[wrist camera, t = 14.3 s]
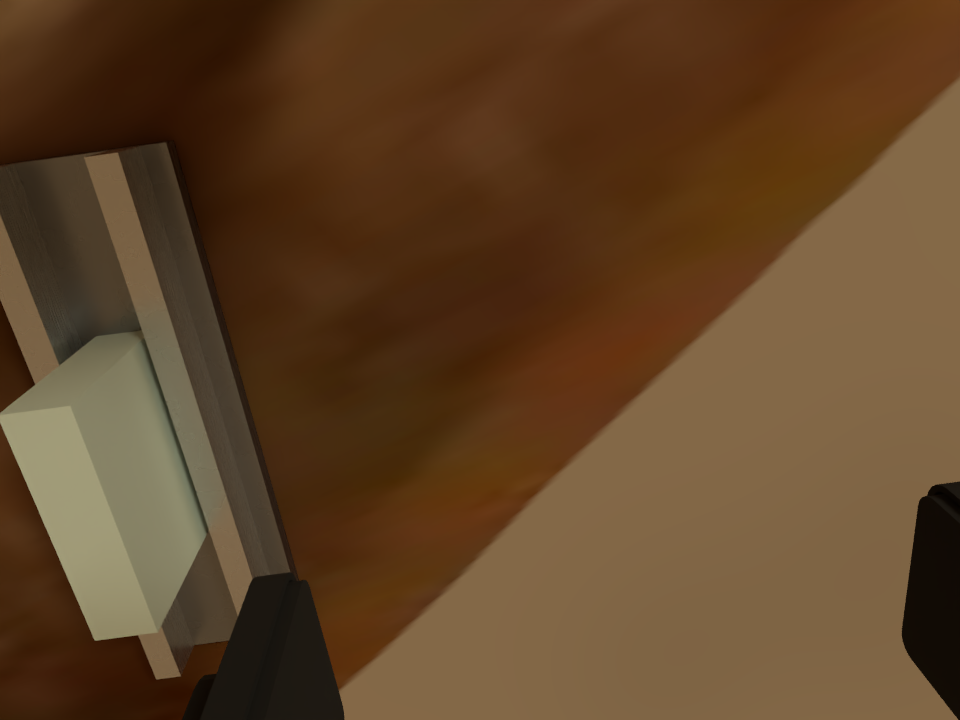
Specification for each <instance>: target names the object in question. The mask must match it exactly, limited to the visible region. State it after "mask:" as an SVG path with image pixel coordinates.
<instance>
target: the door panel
mask: <svg viewBox="0 0 960 720" xmlns="http://www.w3.org/2000/svg"><path fill="white" fill-rule="evenodd" d="M0 423H1V426H2V428H3V430H4V432H5V435H6V437H7V439H8V442H9V444H10V446H11V449H12V451H13V453H14V456H15V458H16V460H17V462H18V465H19V467H20V469H21V472H22V474H23V476H24V479H25V481H26V483H27V486H28V488H29V490H30V492H31V495H32V497H33V499H34V502H35V504H36V506H37V509H38V511H39V513H40V515H41V518H42V520H43V522H44V525H45V527H46V529H47V532H48V534H49V536H50V539H51V541H52V543H53V545H54V548H55V550H56V552H57V555H58V557H59V559H60V562H61V564H62V566H63V569H64V571H65V573H66V575H67V578H68V580H69V582H70V585H71V587H72V589H73V592H74V594H75V596H76V599H77V601H78V603H79V605H80V608H81V610H82V612H83V615H84V617H85V619H86V622H87V624H88V626H89V628H90V631H91V633H92V635H93V638H94V640H95V641H97V640H104V639H112V638H120V637H128V636H135V635H143V634H151V633H158V631H159V629H160V627H161V625H162V623H163V621H164V619H165V617H166V615H167V613H168V611H169V609H170V607H171V605H172V603H173V601H174V599H175V597H176V595H177V593H178V591H179V589H180V587H181V585H182V583H183V581H184V579H185V577H186V575H187V573H188V571H189V569H190V567H191V565H192V563H193V561H194V559H195V557H196V555H197V553H198V551H199V549H200V547H201V545H202V543H203V541H204V539H205V537H206V535H207V533H208V531H209V529H208V526H207V523H206V520H205V517H204V514H203V511H202V508H201V505H200V502H199V499H198V496H197V493H196V490H195V487H194V484H193V481H192V478H191V475H190V472H189V469H188V466H187V463H186V460H185V457H184V454H183V451H182V448H181V445H180V442H179V439H178V436H177V433H176V430H175V427H174V424H173V421H172V418H171V415H170V412H169V409H168V406H167V403H166V400H165V397H164V394H163V391H162V388H161V385H160V382H159V379H158V376H157V373H156V370H155V367H154V365H153V362H152V359H151V356H150V353H149V350H148V347H147V344H146V341H145V338H144V335H143V332H142V330H140V331H133V332H125V333H118V334H110V335H102V336H96V337H95V338H93V339H92V340H91V341H90V342H88V343H87V344H86V345H85V346H83V347H82V348H81V349H80V350H78V351H77V352H76V353H75V354H73V355H72V356H71V357H70V358H68V359H67V360H66V361H65V362H63V363H62V364H61V365H60V366H58V367H57V368H56V369H55V370H53V371H52V372H51V373H50V374H48V375H47V376H46V377H45V378H43V379H42V380H41V381H40V382H38V383H37V384H36V385H35V386H33V387H32V388H31V389H30V390H28V391H27V392H26V393H25V394H23V395H22V396H21V397H20V398H18V399H17V400H16V401H15V402H13V403H12V404H11V405H10V406H8V407H7V408H6V409H5V410H3V411H2V412H1V413H0Z"/></svg>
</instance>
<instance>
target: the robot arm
mask: <svg viewBox="0 0 960 720" xmlns="http://www.w3.org/2000/svg"><path fill="white" fill-rule="evenodd" d="M902 639H903V643H904V646H905V649H906V651H907V653H908V655H909V656H910V658H911V659H912V661H913V662H914V663H915V664H916V666H917V667H918V668H919V670H920V671H921V672H922V673H923V675H924V676H925V677H926V678H927V680H928V681H929V682H930V684H931V685H932V686H933V688H934V689H935V690H936V691H937V693H938V694H939V695H940V697H941V698H942V699H943V700H944V701H945V703H946V704H947V706H948V707H949V708H950V709H951V710H952V712H953V713H954V715H955V716H956V717H957V718H958V720H960V482H954V483H946V484H939V485H935V486H932V487H931V489H930V490H929V492H928V495H927V496H925V497H922V498H921V499H920V501H919V505H918V511H917V519H916V527H915V534H914V542H913V549H912V557H911V565H910V573H909V580H908V588H907V595H906V603H905V610H904V619H903V626H902ZM182 720H344V711H343V706H342V702H341V698H340V694H339V691H338V687H337V684H336V680H335V676H334V673H333V669H332V666H331V662H330V659H329V655H328V651H327V648H326V644H325V641H324V637H323V633H322V630H321V626H320V623H319V619H318V616H317V612H316V608H315V605H314V601H313V598H312V594H311V590H310V587H309V584H308V582H307V581H306V580H301V581H297V580H296V577H295V576H294V574H293V573H291V572H287V573H280V574H273V575H265V576H258V577H255V578H253V579H252V581H251V583H250V585H249V588H248V591H247V593H246V596H245V599H244V601H243V604H242V607H241V609H240V612H239V615H238V618H237V620H236V623H235V626H234V628H233V631H232V634H231V637H230V639H229V642H228V645H227V647H226V650H225V653H224V655H223V658H222V661H221V664H220V666H219V669H218V672H217V674H212V675H204V676H203V677H202V678H201V679H200V680H199V681H198V683H197V685H196V687H195V689H194V691H193V694H192V696H191V699H190V701H189V704H188V706H187V709H186V711H185V714H184V716H183V719H182Z"/></svg>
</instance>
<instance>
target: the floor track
mask: <svg viewBox="0 0 960 720" xmlns="http://www.w3.org/2000/svg"><path fill="white" fill-rule="evenodd" d="M0 300H1V302H2V305H3V307H4V310H5V312H6V315H7V317H8V319H9V322H10V324H11V327H12V329H13V332H14V334H15V336H16V339H17V341H18V344H19V346H20V349H21V351H22V354H23V356H24V358H25V361H26V363H27V366H28V368H29V371H30V373H31V375H32V378H33V380H34V383H35V385H36V384H37V383H38V382H40V381H41V380H42V379H43V378H45V377H46V376H47V375H48V374H50V373H51V372H52V371H53V370H55V369H56V368H57V367H58V366H60V365H61V364H62V363H63V362H65V361H66V360H67V359H68V358H70V357H71V356H72V355H73V354H75V353H76V352H77V351H78V350H80V349H81V348H82V347H83V346H85V345H86V344H87V343H88V342H90V341H91V340H92V339H93V338H95V337H96V336H102V335H110V334H118V333H125V332H133V331H140V330H142V332H143V335H144V338H145V341H146V344H147V347H148V350H149V353H150V356H151V359H152V362H153V365H154V367H155V370H156V373H157V376H158V379H159V382H160V385H161V388H162V391H163V394H164V397H165V400H166V403H167V406H168V409H169V412H170V415H171V418H172V421H173V424H174V427H175V430H176V433H177V436H178V439H179V442H180V445H181V448H182V451H183V454H184V457H185V460H186V463H187V466H188V469H189V472H190V475H191V478H192V481H193V484H194V487H195V490H196V493H197V496H198V499H199V502H200V505H201V508H202V511H203V514H204V517H205V520H206V523H207V526H208V529H209V531H208V533H207V535H206V537H205V539H204V541H203V543H202V545H201V547H200V549H199V551H198V553H197V555H196V557H195V559H194V561H193V563H192V565H191V567H190V569H189V571H188V573H187V575H186V577H185V579H184V581H183V583H182V585H181V587H180V589H179V591H178V593H177V595H176V597H175V599H174V601H173V603H172V605H171V607H170V609H169V611H168V613H167V615H166V617H165V619H164V621H163V623H162V625H161V627H160V629H159V631H158V633H151V634H143V635H138V636H139V639H140V641H141V643H142V646H143V648H144V651H145V653H146V656H147V658H148V660H149V663H150V665H151V668H152V670H153V673H154V675H155V678H156V680H157V679H164V678H172V677H179V676H181V675H182V672H183V670H184V668H185V665H186V663H187V661H188V658H189V656H190V654H191V651H192V649H193V647H194V645H198V644H206V643H213V642H221V641H228V640H229V639H230V637H231V634H232V631H233V628H234V626H235V623H236V620H237V618H238V615H239V612H240V609H241V607H242V604H243V601H244V599H245V596H246V593H247V591H248V588H249V585H250V583H251V581H252V579H253V578H255V577H258V576H265V575H273V574H280V573H287V572H291V573H293V574H294V576H295V577H296V580H297V581H299V579H298V575H297V572H296V568H295V565H294V561H293V558H292V554H291V551H290V547H289V544H288V540H287V537H286V533H285V530H284V526H283V523H282V519H281V516H280V512H279V509H278V505H277V502H276V498H275V495H274V491H273V488H272V484H271V481H270V477H269V474H268V470H267V467H266V463H265V460H264V456H263V453H262V449H261V446H260V442H259V439H258V435H257V432H256V428H255V425H254V421H253V418H252V414H251V411H250V407H249V404H248V400H247V397H246V393H245V390H244V386H243V383H242V379H241V376H240V372H239V369H238V365H237V362H236V358H235V354H234V351H233V347H232V344H231V340H230V337H229V333H228V330H227V326H226V323H225V319H224V316H223V312H222V309H221V305H220V302H219V298H218V295H217V291H216V288H215V284H214V281H213V277H212V274H211V270H210V267H209V263H208V260H207V256H206V253H205V249H204V246H203V242H202V239H201V235H200V232H199V228H198V225H197V221H196V218H195V214H194V211H193V207H192V204H191V200H190V197H189V193H188V190H187V186H186V183H185V179H184V176H183V172H182V169H181V165H180V162H179V158H178V155H177V151H176V148H175V144H174V141H173V140H172V141H165V142H158V143H150V144H143V145H136V146H129V147H122V148H115V149H108V150H100V151H93V152H86V153H79V154H72V155H65V156H58V157H51V158H43V159H36V160H29V161H22V162H15V163H8V164H1V165H0Z"/></svg>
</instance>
